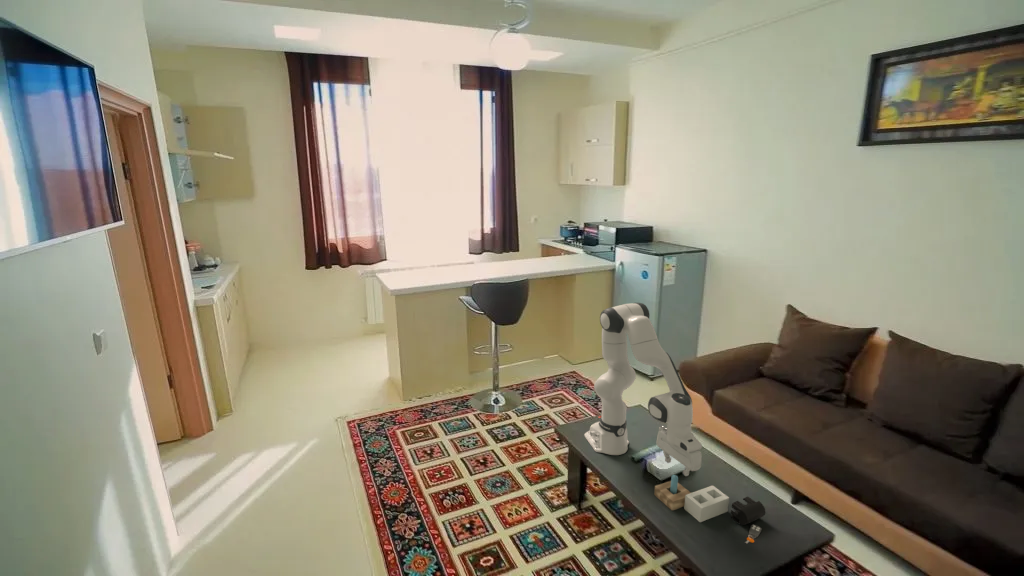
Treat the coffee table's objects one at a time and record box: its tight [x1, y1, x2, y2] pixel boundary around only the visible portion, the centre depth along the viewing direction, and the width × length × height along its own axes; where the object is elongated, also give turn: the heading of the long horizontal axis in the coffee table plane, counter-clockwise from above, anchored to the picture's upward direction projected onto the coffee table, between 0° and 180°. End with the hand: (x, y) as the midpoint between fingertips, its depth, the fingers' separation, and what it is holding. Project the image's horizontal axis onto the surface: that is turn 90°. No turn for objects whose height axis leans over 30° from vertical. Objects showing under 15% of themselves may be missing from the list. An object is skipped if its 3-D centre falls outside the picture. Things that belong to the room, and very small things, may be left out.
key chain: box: [744, 523, 762, 544], centre depth 163 cm, size 13×4×2 cm, turn 140°
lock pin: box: [670, 474, 679, 495], centre depth 181 cm, size 2×2×10 cm
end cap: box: [730, 496, 766, 526], centre depth 171 cm, size 10×7×7 cm
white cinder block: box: [683, 485, 730, 523], centre depth 176 cm, size 8×14×6 cm, turn 114°
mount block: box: [653, 480, 691, 511], centre depth 182 cm, size 10×10×4 cm
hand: (676, 468), depth 179 cm, fingers open, 8 cm apart
